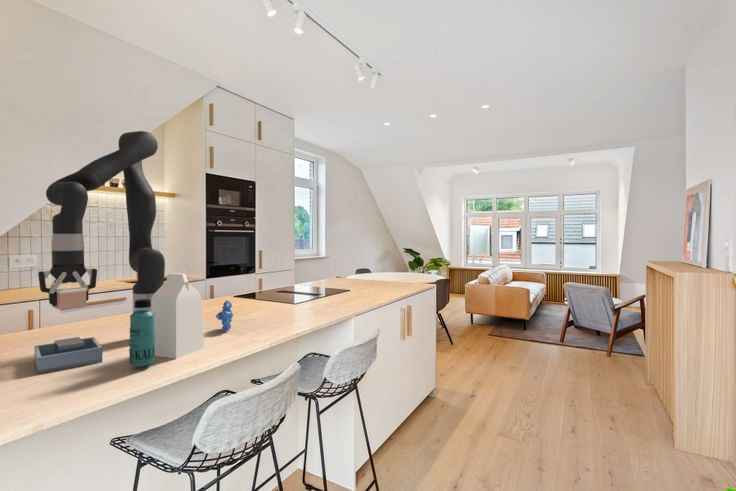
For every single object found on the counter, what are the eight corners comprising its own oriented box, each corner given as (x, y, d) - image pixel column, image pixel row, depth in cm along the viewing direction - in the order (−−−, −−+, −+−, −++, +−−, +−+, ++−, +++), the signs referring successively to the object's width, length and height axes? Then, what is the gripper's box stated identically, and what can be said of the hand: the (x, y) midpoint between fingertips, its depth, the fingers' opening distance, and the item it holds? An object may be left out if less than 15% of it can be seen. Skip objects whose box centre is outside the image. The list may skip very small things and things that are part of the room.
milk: (148, 354, 120) (148, 274, 119) (177, 344, 130) (177, 271, 130) (176, 359, 115) (176, 276, 115) (204, 348, 126) (204, 272, 125)
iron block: (79, 352, 117) (79, 336, 117) (84, 358, 111) (84, 342, 111) (54, 357, 112) (54, 340, 112) (58, 363, 107) (58, 346, 107)
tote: (93, 350, 122) (93, 337, 122) (102, 362, 112) (102, 347, 111) (34, 360, 112) (34, 345, 112) (37, 374, 101) (37, 358, 101)
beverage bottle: (136, 363, 111) (136, 297, 110) (159, 363, 111) (159, 297, 111) (124, 371, 104) (124, 301, 104) (148, 371, 105) (148, 301, 104)
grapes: (217, 327, 155) (217, 298, 154) (234, 326, 157) (234, 298, 156) (213, 334, 144) (213, 303, 143) (232, 333, 145) (232, 303, 145)
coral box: (76, 303, 116) (76, 286, 116) (86, 307, 111) (86, 288, 111) (51, 306, 111) (51, 288, 111) (61, 310, 106) (60, 291, 106)
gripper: (95, 247, 118) (96, 299, 119) (34, 249, 108) (36, 305, 109) (100, 248, 113) (100, 303, 114) (37, 250, 103) (38, 309, 103)
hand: (69, 304), depth 111 cm, fingers closed on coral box, 6 cm apart
